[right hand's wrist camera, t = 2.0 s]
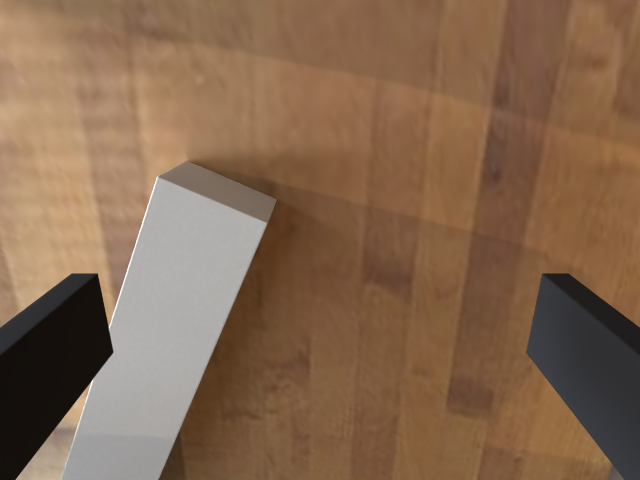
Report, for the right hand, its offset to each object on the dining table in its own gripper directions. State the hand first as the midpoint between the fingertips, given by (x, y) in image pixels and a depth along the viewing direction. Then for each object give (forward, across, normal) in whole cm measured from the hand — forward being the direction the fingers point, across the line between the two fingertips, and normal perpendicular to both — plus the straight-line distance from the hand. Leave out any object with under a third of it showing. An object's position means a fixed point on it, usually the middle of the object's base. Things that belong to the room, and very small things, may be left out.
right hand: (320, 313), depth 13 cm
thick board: (+26, -23, -35) cm, 49 cm away
